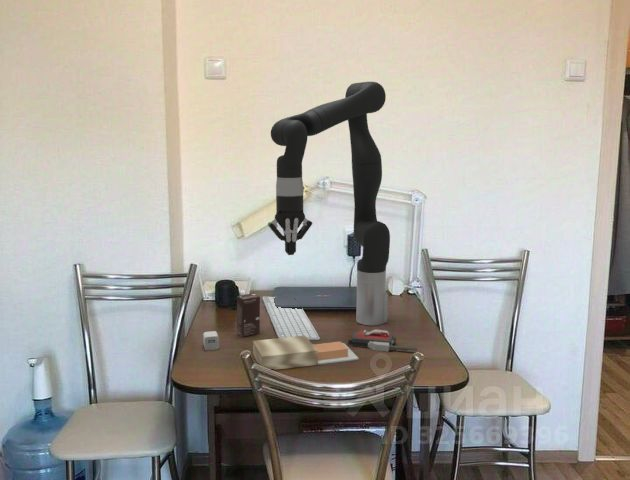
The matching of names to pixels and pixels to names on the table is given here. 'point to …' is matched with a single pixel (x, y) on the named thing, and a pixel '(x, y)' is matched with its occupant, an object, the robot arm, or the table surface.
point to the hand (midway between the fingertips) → (290, 254)
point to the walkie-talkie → (376, 341)
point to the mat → (350, 357)
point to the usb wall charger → (211, 340)
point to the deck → (285, 352)
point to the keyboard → (289, 321)
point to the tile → (331, 350)
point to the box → (248, 314)
